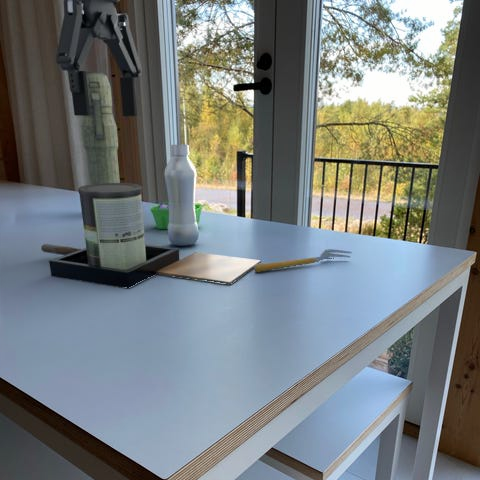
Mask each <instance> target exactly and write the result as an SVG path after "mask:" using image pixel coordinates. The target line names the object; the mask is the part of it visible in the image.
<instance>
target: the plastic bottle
mask: <svg viewBox="0 0 480 480" xmlns="http://www.w3.org/2000/svg"><path fill="white" fill-rule="evenodd" d="M169 150H170V151H169V156H171V157H170V159H169V161H168V163H167V164H166V166H165V168H164V173H163V174H164V179H165V180H164V181H165V186H166V191H167V192H168V195H167V200H168V202H169V224H168V229H167V237H168V240H169V242H170V243H171V244H172V245H174V246H182V247H185V246H189V245H194V244H196V243H197V241H198V240H199V234H200V231H199V224H198V225H197V222H196V213H195V205H196V202H195V199H196V183H197V171H196V168H195V165H194V164H193V163H192V161H191V159H190V158H189V156H190V146H189V144H170V145H169Z"/></svg>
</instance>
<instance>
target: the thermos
mask: <svg viewBox="0 0 480 480" xmlns="http://www.w3.org/2000/svg"><path fill="white" fill-rule="evenodd" d="M86 76H87V85H88V94H89V104H90V113H91V116H82V121H81V134H82V135H81V136H82V143H83V148H84V150H85V153H86V163H87V171H88V179H89V180H88V181H89V185H91V184H102V183H121V181H120V170H119V159H118V149H119V139H118V138H119V137H118V127H117V124H116V121H115V119H114V113H113V97H112V87H111V84H110V81H109V79H108V76H107V75H106V74H104V72H97V71H86Z"/></svg>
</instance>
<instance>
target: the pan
mask: <svg viewBox="0 0 480 480" xmlns="http://www.w3.org/2000/svg"><path fill="white" fill-rule="evenodd" d="M40 249H41V251H42V252H43V253H45V254H46V253H47V254H53V255H60V256H58V257H55V258H52V259H49V260H48V264H49V270H50V276H51V277H55V276H56V278H61V277H62V278H61V279H67V278H69V279H68V280H73V279H76V280H75V281H79V280H82V282H85V281H87V283H92V282H94V283H93V284H98V285H104V284H105V286H110V285H111V286H110V287H116V286H118V287H117V288H122V287H127V288H126V289H128V288H129V287H131V286H133V285H135V284H136V283H138V282H140V281H142V280H144V279H147V278H148V277H151V276H153V275H155V274H157V273H156V272H157V271H158V270H160V269H162V268H164V267H166V266H168V265H170V264H172V263H174V262H176V261H178V260H180V248H175V247H168V246H160V245H159V246H158V245H151V244H145V251H146V261H145V262H143V263H141V264H139V265H136V266H134V267H132V268H130V269H127V270H122V269H115V268H108V267H102V266H95V265H88V257H87V249H86V247H85V248H79V247H71V246H64V245H55V244H49V243H44V244H42V245H41V247H40ZM155 276H156V275H155ZM153 277H154V276H153ZM151 278H152V277H151ZM147 280H148V279H147ZM135 286H136V285H135ZM133 287H134V286H133ZM131 288H132V287H131ZM129 289H130V288H129Z"/></svg>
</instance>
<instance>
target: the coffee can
mask: <svg viewBox="0 0 480 480" xmlns="http://www.w3.org/2000/svg"><path fill="white" fill-rule="evenodd" d="M77 191H78V194H79V201H80V208H81V217H82V224H83V232H84V242H85V248H86V249H87V257H88V265H95V266H102V267H108V268H115V269H122V270H127V269H130V268H132V267H134V266H136V265H139V264H141V263H143V262H145V261H146V251H145V245H146V241H145V228H144V227H145V225H144V212H143V211H144V210H143V200H142V191H143V187H142V186H141V185H140V184H138V183H137V184H136V183H129V182H120V183H102V184H91V185H90V184H85V185H81V186H80V187H78V188H77Z"/></svg>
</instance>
